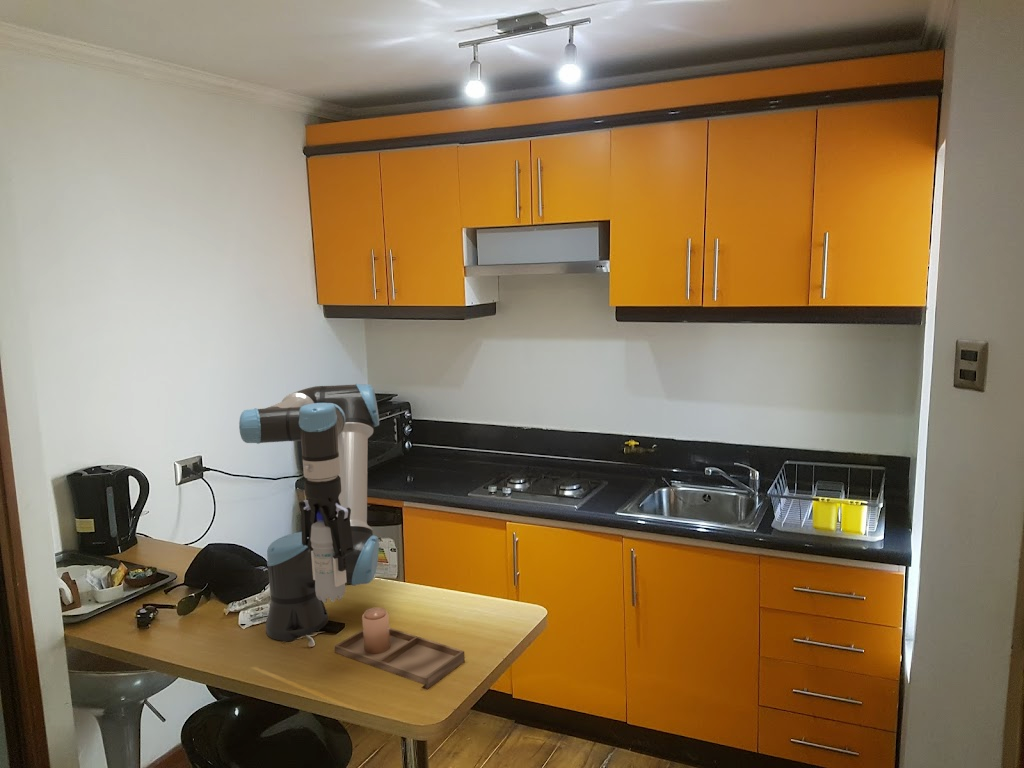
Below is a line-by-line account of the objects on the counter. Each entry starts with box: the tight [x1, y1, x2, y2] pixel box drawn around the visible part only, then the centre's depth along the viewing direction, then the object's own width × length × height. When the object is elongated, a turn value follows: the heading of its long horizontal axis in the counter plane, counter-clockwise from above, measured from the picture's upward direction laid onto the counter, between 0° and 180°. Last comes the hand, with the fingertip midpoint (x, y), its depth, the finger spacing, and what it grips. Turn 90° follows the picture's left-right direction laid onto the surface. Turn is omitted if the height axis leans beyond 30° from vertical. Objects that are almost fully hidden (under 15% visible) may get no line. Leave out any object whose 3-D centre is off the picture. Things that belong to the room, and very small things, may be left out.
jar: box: [361, 606, 390, 654], centre depth 176 cm, size 6×6×9 cm
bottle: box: [310, 511, 346, 603], centre depth 163 cm, size 7×7×20 cm
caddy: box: [334, 627, 466, 690], centre depth 173 cm, size 28×13×2 cm, turn 56°
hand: (329, 580), depth 163 cm, fingers closed on bottle, 6 cm apart
